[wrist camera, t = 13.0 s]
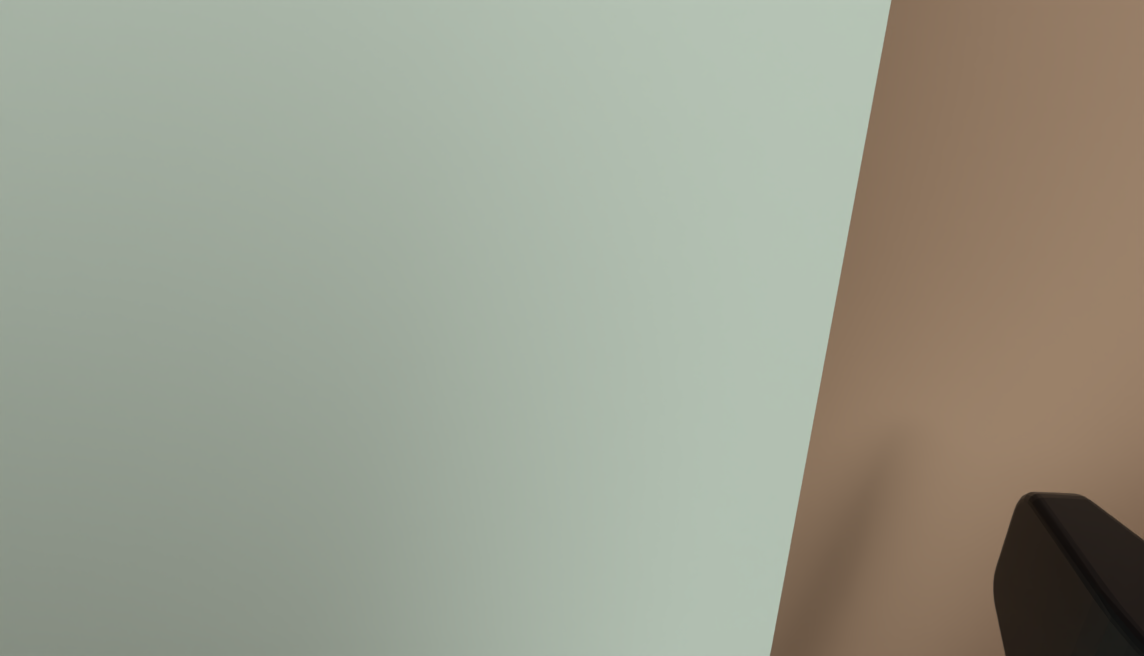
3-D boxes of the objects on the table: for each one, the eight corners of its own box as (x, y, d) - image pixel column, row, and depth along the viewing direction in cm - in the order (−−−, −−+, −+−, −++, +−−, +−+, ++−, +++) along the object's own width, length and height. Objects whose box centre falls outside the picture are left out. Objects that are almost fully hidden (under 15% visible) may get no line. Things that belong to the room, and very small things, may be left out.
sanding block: (313, 757, 13) (135, 1360, 8) (102, -419, 7) (-1181, -651, 2) (632, 776, 13) (632, 1399, 8) (735, -404, 6) (1004, -607, 2)
